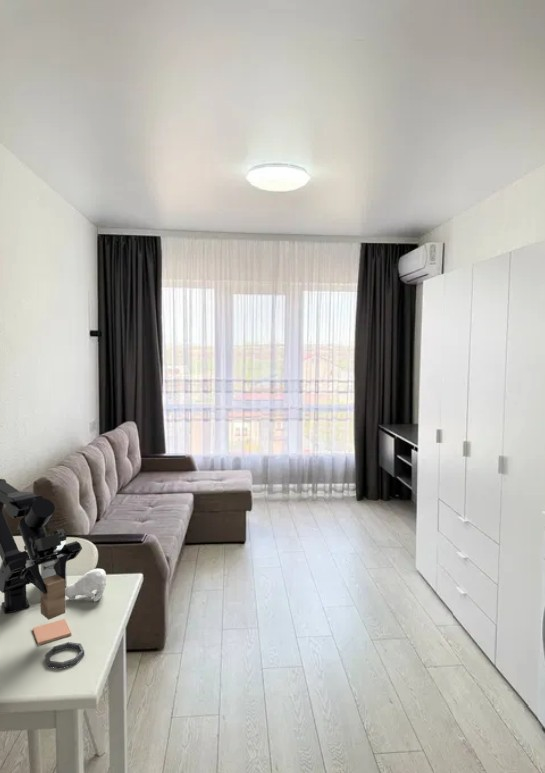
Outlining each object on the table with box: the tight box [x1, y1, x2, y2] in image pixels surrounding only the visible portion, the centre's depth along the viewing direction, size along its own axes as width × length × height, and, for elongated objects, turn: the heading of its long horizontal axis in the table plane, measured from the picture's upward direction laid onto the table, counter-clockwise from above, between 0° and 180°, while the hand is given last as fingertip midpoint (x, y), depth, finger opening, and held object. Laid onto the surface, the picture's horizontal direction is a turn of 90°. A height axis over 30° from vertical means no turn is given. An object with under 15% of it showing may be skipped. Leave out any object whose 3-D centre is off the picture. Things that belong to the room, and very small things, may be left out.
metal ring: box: [44, 641, 85, 669], centre depth 121 cm, size 8×8×1 cm
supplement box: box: [40, 540, 68, 587], centre depth 157 cm, size 7×7×13 cm
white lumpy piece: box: [65, 568, 107, 602], centre depth 149 cm, size 6×8×12 cm
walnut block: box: [39, 574, 66, 620], centre depth 129 cm, size 4×4×9 cm
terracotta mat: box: [32, 618, 72, 646], centre depth 131 cm, size 8×8×1 cm
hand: (55, 589), depth 127 cm, fingers closed on walnut block, 4 cm apart
